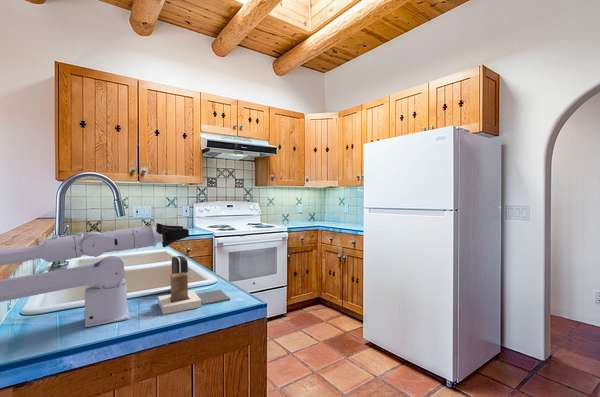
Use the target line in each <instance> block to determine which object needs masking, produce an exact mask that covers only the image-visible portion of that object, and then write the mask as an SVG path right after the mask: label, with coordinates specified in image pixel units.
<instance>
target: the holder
mask: <svg viewBox="0 0 600 397" xmlns="http://www.w3.org/2000/svg"><path fill="white" fill-rule="evenodd" d="M197 294H198V293H196V292H195V291H194V290H188V300H183V301H177V302H172V303H171V293H170V294H165V295H159V296H157V303H158V306H159V308H160V311H161V313H162V315H167V314H173V313H178V312H182V311H187V310H193V309H198V308H202V303H201V299H200V298H199V297H198V296H197Z"/></svg>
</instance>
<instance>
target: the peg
mask: <svg viewBox="0 0 600 397" xmlns="http://www.w3.org/2000/svg"><path fill="white" fill-rule="evenodd" d="M188 277H189V276H188V274H187V273H185V272H183V273H175V274H172V273H171V274H170V294H171V303H172V302H177V301H183V300H188V291H189V290H188V288H189V283H188V282H189V280H188Z"/></svg>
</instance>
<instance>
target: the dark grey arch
mask: <svg viewBox="0 0 600 397" xmlns="http://www.w3.org/2000/svg"><path fill="white" fill-rule="evenodd" d="M183 272H185V273H186V274H187V273H189V263H188V259H187V258H186V256H182V255H177V256H176V255H175V256H172V257H171V274H175V273H183Z"/></svg>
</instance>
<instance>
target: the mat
mask: <svg viewBox="0 0 600 397" xmlns="http://www.w3.org/2000/svg"><path fill="white" fill-rule="evenodd" d="M196 294H197V296H198V297H199V298H200V299H201V305H203V306H206V305H212V304H217V303H221V302H227V301H230V300H231V298H230V297H229V296H228V295H227V294H226V293H225V292H223V291H222V290H221V289H217V290H211V291H205V292H200V293H196Z"/></svg>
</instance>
